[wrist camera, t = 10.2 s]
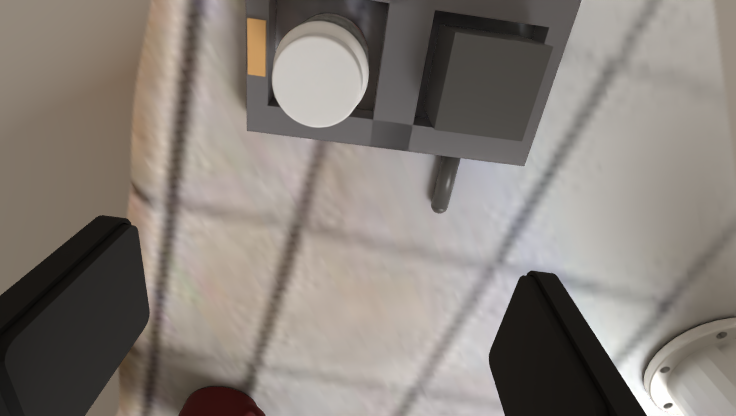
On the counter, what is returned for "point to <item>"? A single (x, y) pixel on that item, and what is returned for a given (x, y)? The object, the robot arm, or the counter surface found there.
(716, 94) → the counter surface
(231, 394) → the mug
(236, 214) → the counter surface
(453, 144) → the two-compartment grey tray
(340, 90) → the pill bottle
